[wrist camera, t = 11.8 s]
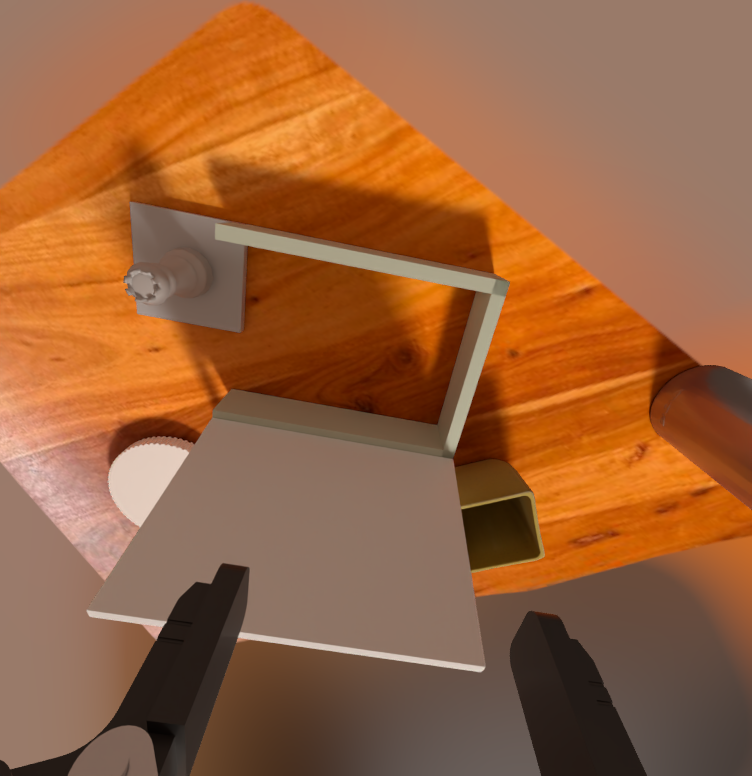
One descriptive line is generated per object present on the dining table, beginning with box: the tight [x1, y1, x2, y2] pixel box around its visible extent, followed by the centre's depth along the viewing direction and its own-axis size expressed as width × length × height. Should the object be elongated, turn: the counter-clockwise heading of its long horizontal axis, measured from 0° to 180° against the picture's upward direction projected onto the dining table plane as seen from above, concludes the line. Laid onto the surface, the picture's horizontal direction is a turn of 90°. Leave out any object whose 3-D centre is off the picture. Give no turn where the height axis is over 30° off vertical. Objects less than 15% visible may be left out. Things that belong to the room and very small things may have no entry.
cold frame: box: [213, 222, 510, 459], centre depth 35 cm, size 24×24×12 cm
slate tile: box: [130, 202, 249, 333], centre depth 36 cm, size 10×10×1 cm
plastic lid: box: [108, 436, 194, 527], centre depth 46 cm, size 14×14×2 cm
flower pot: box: [454, 459, 545, 573], centre depth 42 cm, size 9×9×9 cm
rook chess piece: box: [123, 247, 213, 306], centre depth 32 cm, size 4×4×8 cm
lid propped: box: [87, 418, 486, 672], centre depth 31 cm, size 24×4×18 cm, turn 79°
